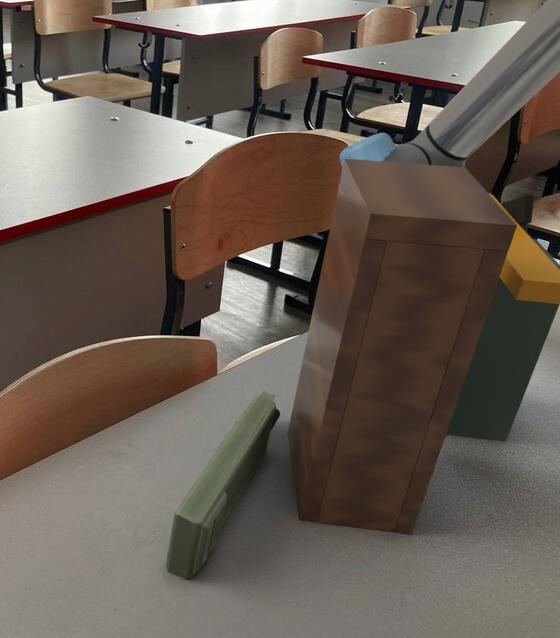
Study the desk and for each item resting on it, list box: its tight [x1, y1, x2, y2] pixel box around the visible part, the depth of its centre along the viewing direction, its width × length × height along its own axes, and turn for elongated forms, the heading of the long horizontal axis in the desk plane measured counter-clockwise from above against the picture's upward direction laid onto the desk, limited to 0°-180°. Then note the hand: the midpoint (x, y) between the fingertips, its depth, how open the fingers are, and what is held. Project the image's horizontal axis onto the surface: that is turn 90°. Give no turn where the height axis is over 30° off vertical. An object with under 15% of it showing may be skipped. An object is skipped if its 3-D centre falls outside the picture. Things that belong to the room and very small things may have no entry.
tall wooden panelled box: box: [287, 159, 517, 535], centre depth 67 cm, size 10×13×30 cm
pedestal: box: [446, 238, 560, 442], centre depth 80 cm, size 10×9×20 cm
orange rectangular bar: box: [488, 193, 560, 304], centre depth 75 cm, size 4×22×2 cm, turn 171°
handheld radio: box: [165, 390, 281, 580], centre depth 71 cm, size 7×3×25 cm
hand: (503, 206), depth 75 cm, fingers closed on orange rectangular bar, 4 cm apart
